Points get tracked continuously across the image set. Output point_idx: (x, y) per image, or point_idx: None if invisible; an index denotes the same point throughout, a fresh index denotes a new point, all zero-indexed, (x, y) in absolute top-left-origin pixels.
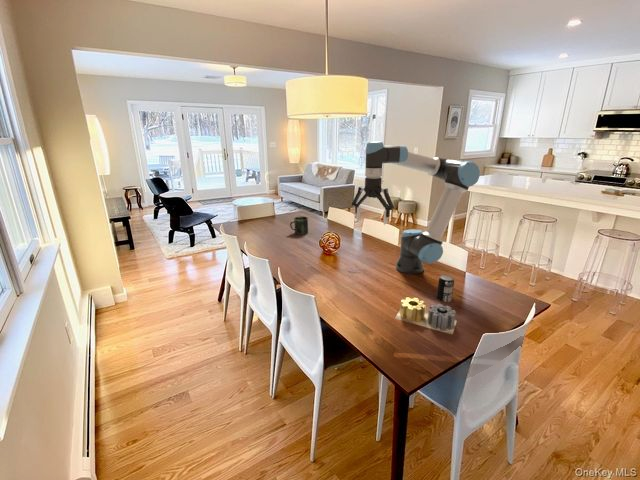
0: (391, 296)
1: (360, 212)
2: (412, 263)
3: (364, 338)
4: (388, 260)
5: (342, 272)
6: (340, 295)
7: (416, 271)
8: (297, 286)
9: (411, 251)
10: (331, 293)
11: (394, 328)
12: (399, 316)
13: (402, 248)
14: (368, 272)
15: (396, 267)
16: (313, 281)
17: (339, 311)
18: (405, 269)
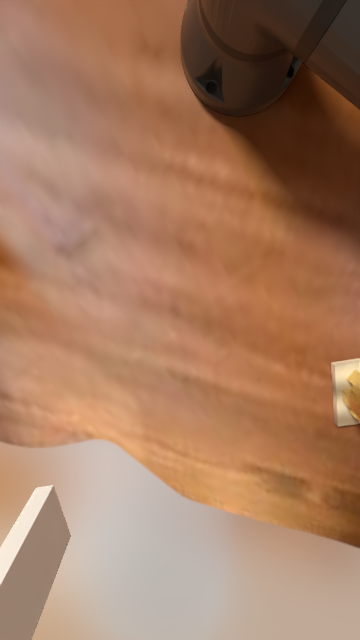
0: (277, 320)
1: (3, 582)
2: (282, 69)
3: (304, 509)
4: (117, 17)
5: (48, 273)
6: (151, 405)
7: (290, 82)
8: (19, 438)
9: (320, 74)
10: (124, 411)
11: (345, 447)
12: (345, 412)
13: (234, 21)
14: (122, 209)
15: (194, 89)
16: (27, 388)
17: (200, 465)
18: (248, 107)
